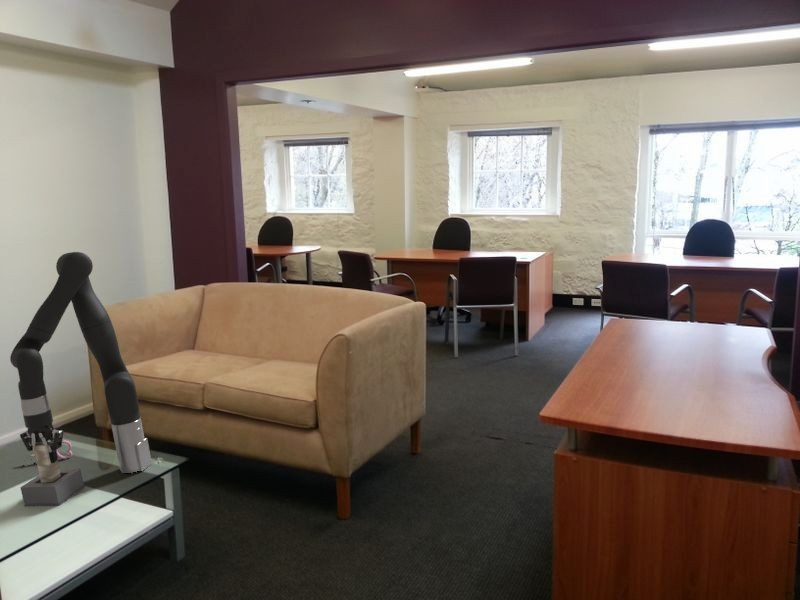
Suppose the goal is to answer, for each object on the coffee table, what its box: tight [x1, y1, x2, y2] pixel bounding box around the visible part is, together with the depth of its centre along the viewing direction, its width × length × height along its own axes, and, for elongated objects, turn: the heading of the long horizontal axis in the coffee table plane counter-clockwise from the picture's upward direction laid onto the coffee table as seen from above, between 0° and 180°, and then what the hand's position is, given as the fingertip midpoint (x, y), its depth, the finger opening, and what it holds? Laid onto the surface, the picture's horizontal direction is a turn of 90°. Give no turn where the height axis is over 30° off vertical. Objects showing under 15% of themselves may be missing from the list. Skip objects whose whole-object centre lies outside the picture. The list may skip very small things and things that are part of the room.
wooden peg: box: [33, 440, 61, 483], centre depth 199 cm, size 4×4×12 cm
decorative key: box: [29, 439, 73, 460], centre depth 231 cm, size 7×1×20 cm
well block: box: [20, 468, 85, 507], centre depth 201 cm, size 12×12×6 cm
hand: (47, 462), depth 199 cm, fingers closed on wooden peg, 4 cm apart
